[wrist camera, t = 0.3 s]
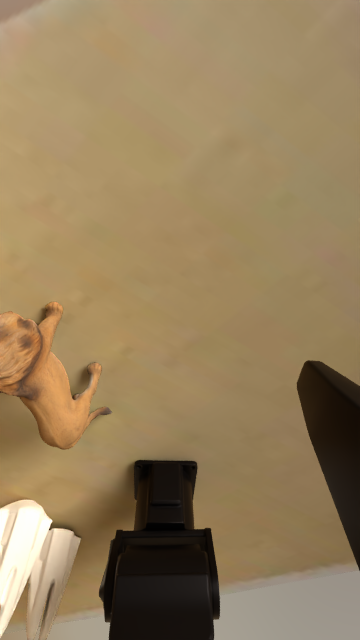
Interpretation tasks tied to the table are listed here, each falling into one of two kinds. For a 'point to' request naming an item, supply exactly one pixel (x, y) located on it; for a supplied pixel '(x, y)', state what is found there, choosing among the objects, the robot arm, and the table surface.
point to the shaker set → (33, 564)
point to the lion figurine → (44, 378)
